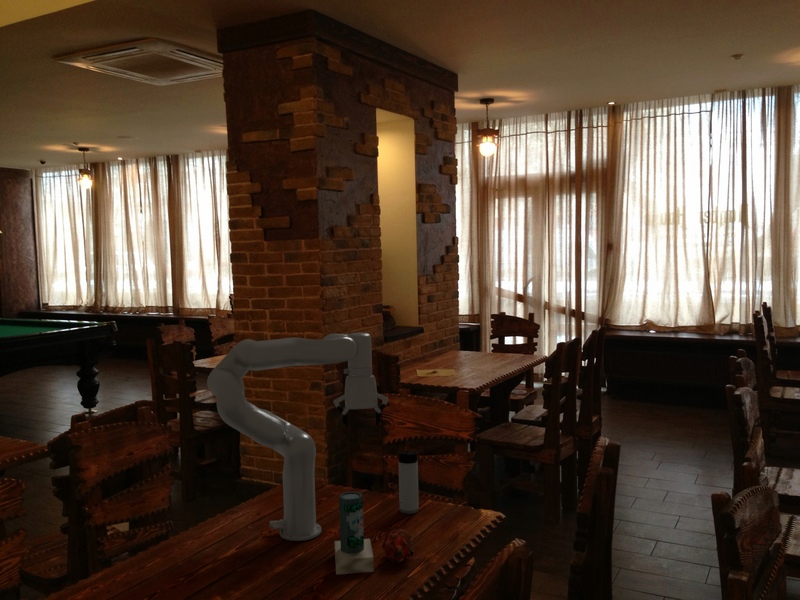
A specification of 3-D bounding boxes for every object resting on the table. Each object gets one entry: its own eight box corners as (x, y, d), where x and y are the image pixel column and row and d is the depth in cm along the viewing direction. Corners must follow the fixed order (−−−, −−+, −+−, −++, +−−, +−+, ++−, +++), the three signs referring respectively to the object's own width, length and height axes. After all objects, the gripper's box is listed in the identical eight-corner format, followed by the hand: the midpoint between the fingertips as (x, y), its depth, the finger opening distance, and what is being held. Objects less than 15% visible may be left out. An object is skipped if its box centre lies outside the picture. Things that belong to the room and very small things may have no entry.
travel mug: (396, 513, 227) (394, 453, 225) (403, 506, 233) (402, 447, 231) (414, 515, 224) (413, 454, 223) (421, 508, 231) (420, 449, 229)
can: (354, 555, 187) (353, 501, 186) (336, 550, 191) (335, 497, 189) (367, 546, 192) (366, 493, 191) (350, 542, 196) (348, 490, 195)
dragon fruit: (400, 553, 200) (400, 579, 189) (376, 538, 199) (375, 563, 188) (417, 531, 199) (419, 556, 187) (393, 516, 198) (393, 540, 186)
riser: (336, 574, 185) (335, 560, 185) (335, 554, 197) (334, 541, 197) (373, 571, 186) (373, 557, 186) (370, 552, 198) (369, 538, 198)
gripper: (332, 375, 215) (334, 430, 216) (388, 372, 217) (390, 427, 218) (332, 371, 222) (333, 424, 223) (386, 368, 224) (387, 421, 225)
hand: (361, 425), depth 221 cm, fingers open, 9 cm apart
